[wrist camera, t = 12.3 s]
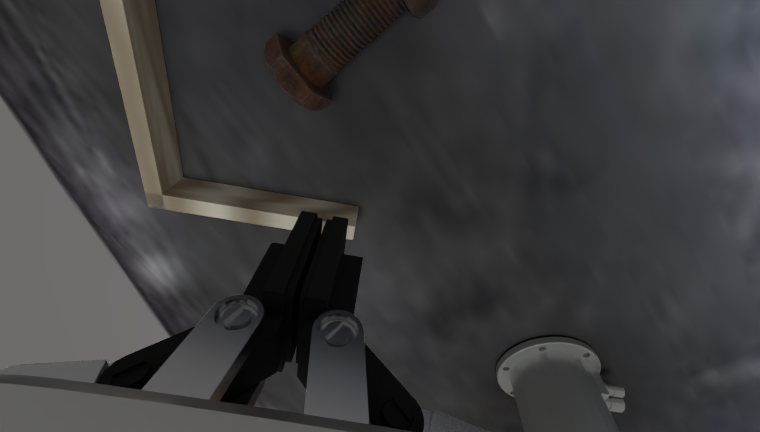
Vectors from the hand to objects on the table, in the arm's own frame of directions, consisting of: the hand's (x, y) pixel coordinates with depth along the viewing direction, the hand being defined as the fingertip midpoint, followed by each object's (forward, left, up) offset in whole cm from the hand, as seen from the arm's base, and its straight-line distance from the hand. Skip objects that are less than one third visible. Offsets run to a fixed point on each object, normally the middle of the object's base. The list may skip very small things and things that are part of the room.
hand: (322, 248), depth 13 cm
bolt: (+1, -7, -20) cm, 21 cm away
